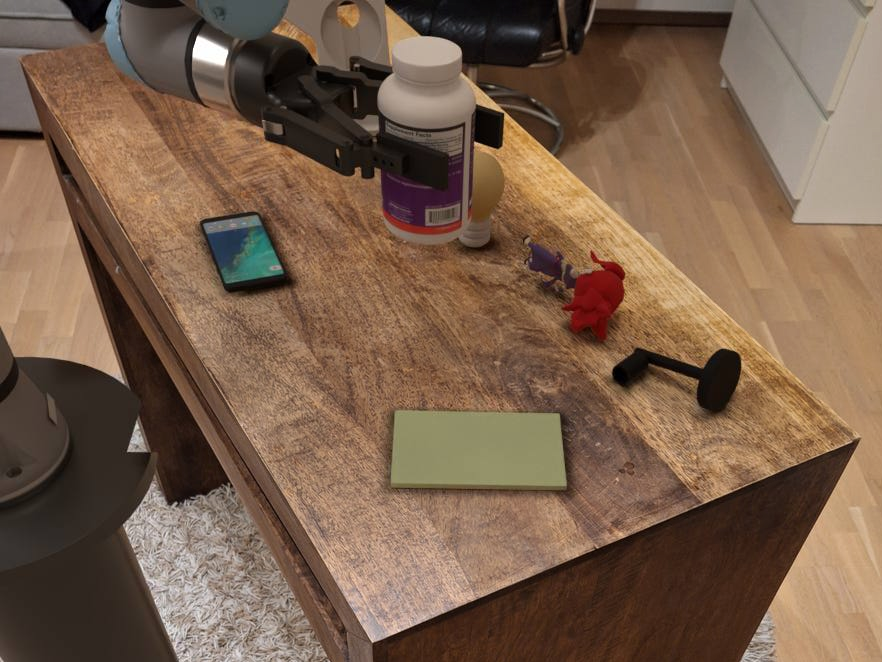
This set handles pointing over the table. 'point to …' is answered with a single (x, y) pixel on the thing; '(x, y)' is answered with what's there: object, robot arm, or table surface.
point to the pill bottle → (429, 138)
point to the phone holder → (344, 36)
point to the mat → (477, 450)
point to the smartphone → (243, 252)
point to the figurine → (582, 287)
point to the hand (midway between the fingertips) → (474, 151)
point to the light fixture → (689, 374)
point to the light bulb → (483, 198)
